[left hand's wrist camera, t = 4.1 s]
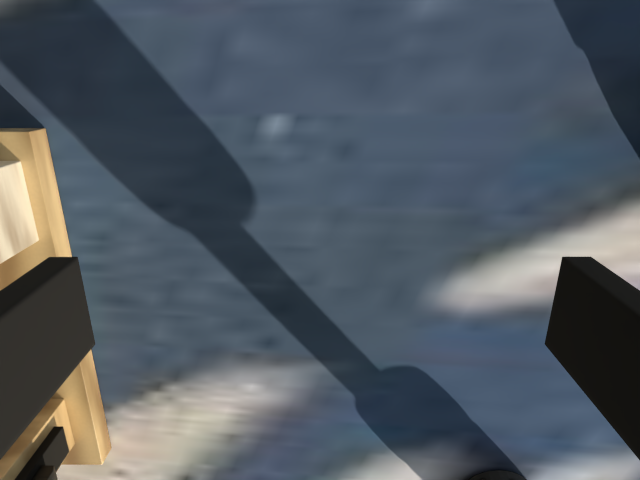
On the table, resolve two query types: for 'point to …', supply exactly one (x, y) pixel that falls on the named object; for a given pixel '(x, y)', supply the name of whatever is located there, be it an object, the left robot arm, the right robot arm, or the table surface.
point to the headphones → (498, 476)
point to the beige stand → (20, 257)
